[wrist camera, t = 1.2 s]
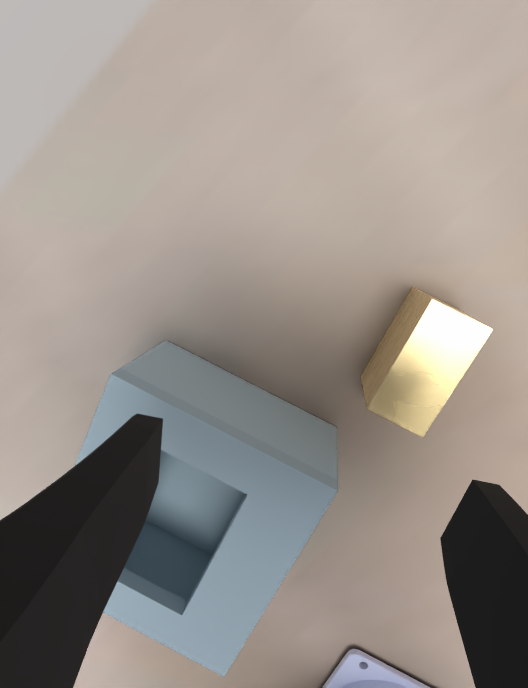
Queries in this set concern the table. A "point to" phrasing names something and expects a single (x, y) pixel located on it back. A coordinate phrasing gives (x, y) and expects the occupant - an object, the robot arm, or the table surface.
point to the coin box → (214, 500)
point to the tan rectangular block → (421, 361)
